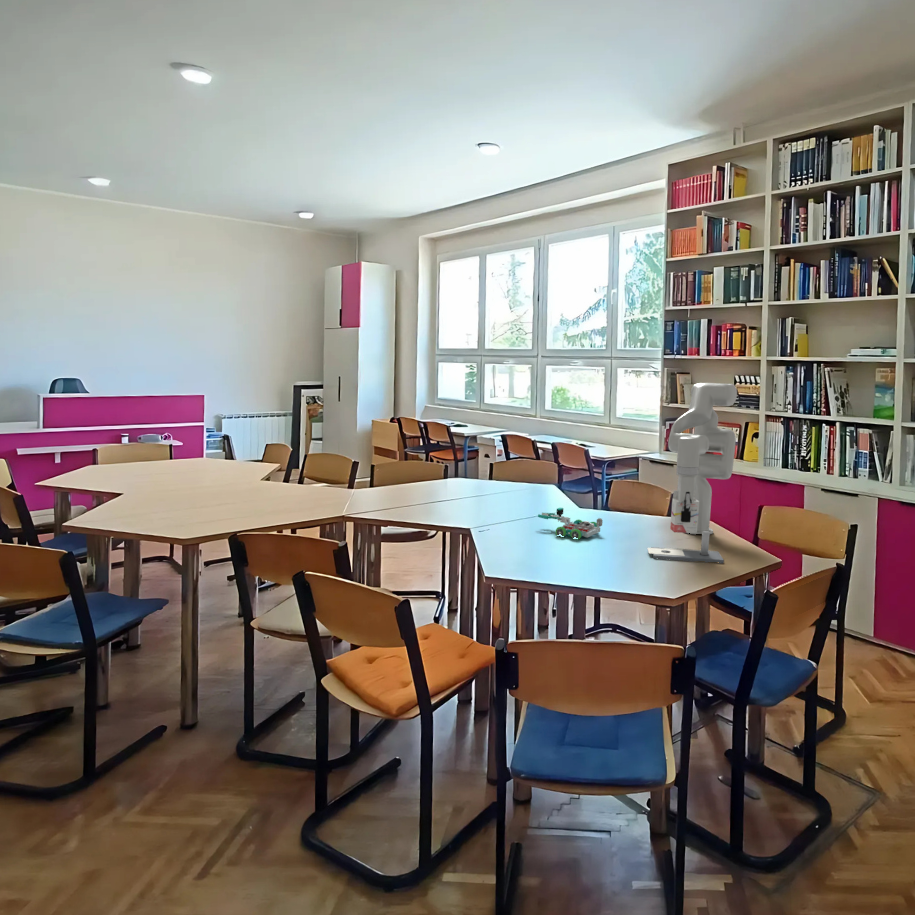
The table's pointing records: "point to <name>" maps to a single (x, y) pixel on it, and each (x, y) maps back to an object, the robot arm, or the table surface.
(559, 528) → the robot kit
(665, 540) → the table surface
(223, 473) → the table surface
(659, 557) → the plate
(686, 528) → the ink cartridge box
